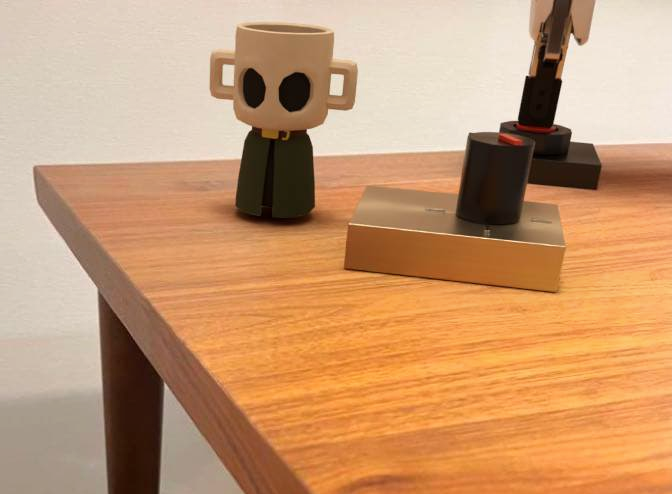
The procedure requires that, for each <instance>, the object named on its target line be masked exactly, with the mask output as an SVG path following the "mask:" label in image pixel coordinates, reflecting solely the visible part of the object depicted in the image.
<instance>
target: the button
mask: <svg viewBox="0 0 672 494" xmlns="http://www.w3.org/2000/svg"><path fill="white" fill-rule="evenodd" d="M516 128H518V129H522V130H527V131H534V132H555V130H556V127H555V126H552V127H551V128H543V127H532V126H521V125H519V123H517V125H516Z"/></svg>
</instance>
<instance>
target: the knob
mask: <svg viewBox="0 0 672 494" xmlns="http://www.w3.org/2000/svg"><path fill="white" fill-rule="evenodd" d="M471 133H472V134H469V133H468V135H467V138H466V144H465V151H464V158H463V162H462V169H461V170H462V171H461V175H460V182H459V188H458V193H457V194H458V200H457V207H456V214H457V215H458V216H460V217H461V218H464V219H466V220H470V221H474V222H478V223H485V224H511V223H516V222H518V221H519V220H520V218H521V212H522V207H523V202H524V201H525V198H526V197H525V196H526V193H527V192H526V191H527V186H528V184H527V182H528V177H529V171H530V166H531V161H532V156H533V151H534V146H535V141H534V140H532V139H530V138H528V137H524V136H520V135H515V134H509V133H499V131H497V132H495V131H477V132H471Z"/></svg>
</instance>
